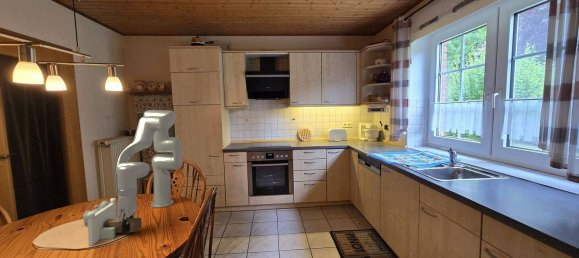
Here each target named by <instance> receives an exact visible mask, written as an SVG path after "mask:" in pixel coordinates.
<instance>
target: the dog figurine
mask: <svg viewBox="0 0 579 258" xmlns="http://www.w3.org/2000/svg"><path fill="white" fill-rule="evenodd" d="M109 204H110V202H109V201H106V200H103V201H102V202H101V203H100V204H96V205H95V206H94V209H92V210H86V211H84V212H83V215H82V219H83V222H84V223H83V224H84V226H87V227H88V213H89V212H95V213H97V212H98V211H100V210H101V209H103V208H104V207H106V206H108V205H109Z"/></svg>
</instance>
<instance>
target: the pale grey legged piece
mask: <svg viewBox="0 0 579 258" xmlns="http://www.w3.org/2000/svg"><path fill="white" fill-rule="evenodd" d="M109 199H110V200H109V201H110V202H109V203H110V204H109V205H108V206H106V207H104V208H103V209H101V210H100V211H98V212H97V213H95V212H89V213H88V226H87V233H88V234H87V235H88V238H87V239H88V246H89V247H90V246H91V245H93V246H94V245H95V244H96V243H97V242H98V241H100V240H112V239H114V238H115V237H116V233H115V227H107V228H104V222H106V221H107V220H108V219H117V197H112V198H109ZM91 247H92V246H91Z"/></svg>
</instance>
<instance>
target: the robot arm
mask: <svg viewBox="0 0 579 258" xmlns="http://www.w3.org/2000/svg"><path fill="white" fill-rule="evenodd" d="M176 120H177V116H176V112H175V111H173V110H163V109H161V110H160V109H149V110H146V111H144V112H143V116H142V117H141V118H139V120H138V124H137V127H136V131H135V135H134V138H133V141H132V142H131V143H130V144H128V145H127V146H126V147H125V148H124V149H123V150H122V152H121V153H120V154H119V156H118V160H117V162H116V166H115V173H116V175H117V196H118V198H117V203H116V219H119V218H120V220H119V221H120V222H121V224H122V232H121V233H130V232H129V231H130V223H129V218H136V217H135V214H136V212H137V209H138V208H137V207H138V203H137V195H138V179H140V178H145V177H146V176H148V174H149V173H150V171H151V169H150V168H151V167H152V171H153V201H152V202H151V203H150V206H151V207H152V208H157V209H158V208H166V207H169V206H172V205H173V204H174V200H173V199H172V197H171V196H172V195H171V193H172V187H171V186H172V181H171V180H172V179H171V177H172V176H171V174H170V171H169V170H172V171H173V170H175V171H176V170H180V169H181V168H182V166H183V142H182V139H180V138H179V137H176V136H171V137H170V135H169V129H170V128H171V127H172V126H174V124H175V122H176ZM152 145H153V149H154V151H155V152H157V153H159V154H156V155H154V156H153V157H152V158H151V167H150V165H149V164H148V163H146V162H143V161H137V162H136V161H129V160H130V158H131V157H132V156H133V155H134V154H136V153H138V152H141V151H143V150H146V149H148V148H150V147H151V146H152ZM170 153H171V154H170ZM125 219H127V221H126V220H125Z"/></svg>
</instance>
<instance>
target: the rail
mask: <svg viewBox="0 0 579 258" xmlns="http://www.w3.org/2000/svg"><path fill="white" fill-rule="evenodd" d="M119 220H120V218H116V219H108V220H107V221H106V222H104V228H107V227H115V234H116V233H123V232H122V224H121V222H120V221H119ZM125 220H126V221H127V219H125ZM129 223H130V231H129V232H128V233H132V232H133V233H134V232H139V231H140V230H141V229H142V217H135V218H129Z"/></svg>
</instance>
